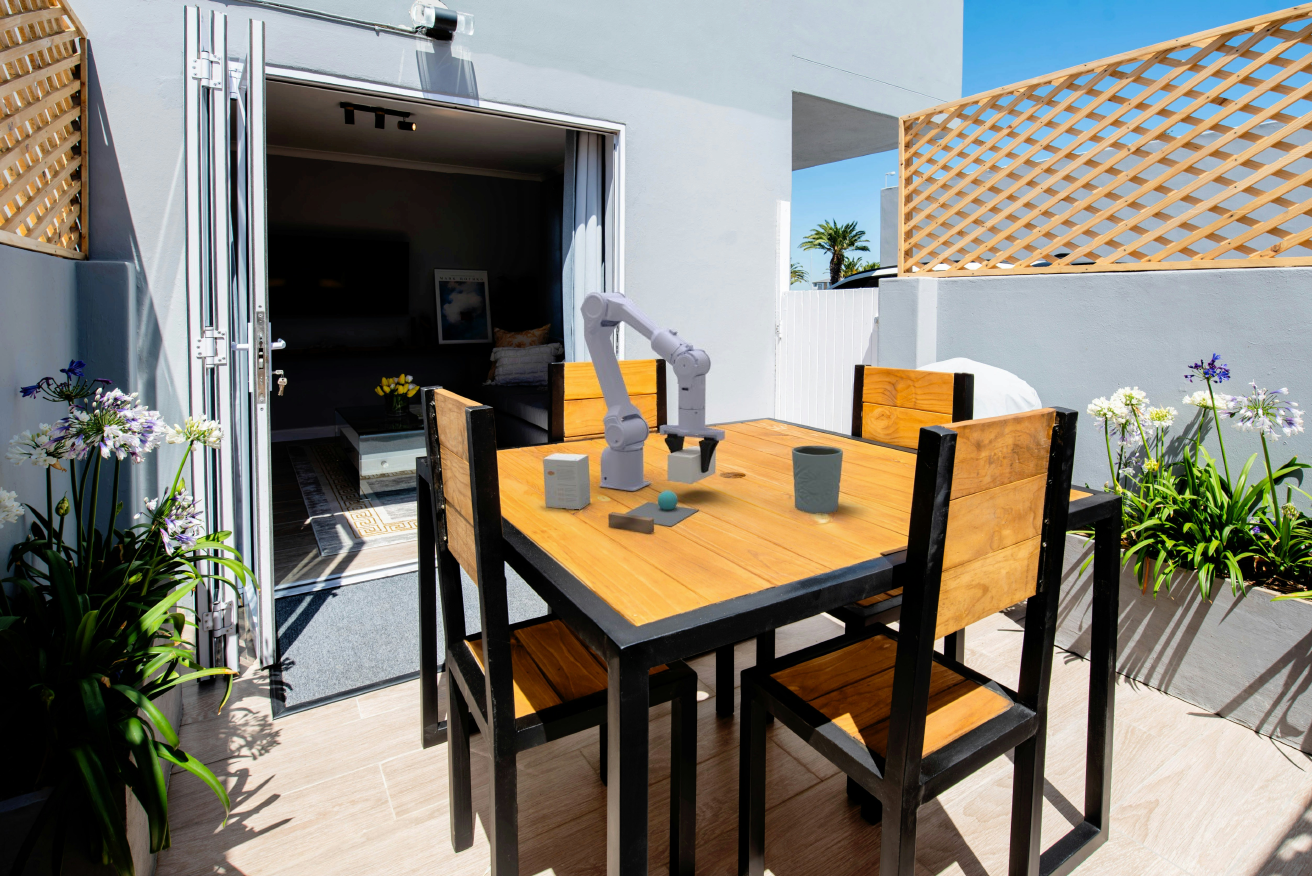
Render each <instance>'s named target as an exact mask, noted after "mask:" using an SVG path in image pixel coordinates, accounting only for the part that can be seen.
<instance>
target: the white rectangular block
mask: <svg viewBox="0 0 1312 876" xmlns="http://www.w3.org/2000/svg"><path fill="white" fill-rule="evenodd" d="M716 452H717V447H716V448H715V450H714V453H713V455H712V458H711V461H710V465H709V470H708V472H706V473H702V472H701V452H700V446H698V445H692V446H688V447H685V448H683V450H680V451H677V452H674V453H668V454H667V469H666V470H667V471H666V472H667V474H666V475H667V480H666V481H667V482H673V483H682V484H689V485H693V484H695V483H697V482H699V481H701V480H703V479H706V478H708V477H711V476H713V475H716V465H717V463H716V460H717V459H716V455H717V453H716Z"/></svg>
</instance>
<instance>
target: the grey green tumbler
mask: <svg viewBox="0 0 1312 876" xmlns="http://www.w3.org/2000/svg"><path fill="white" fill-rule="evenodd" d="M843 457H844V451H843V449H842V448H838V447H835V446H828V445H827V446H826V445H801V446H796V447H793V448H792V450H791V458H792V460H791V461H792V473H793V475H792V476H793V490H794V491H793V493H794V508H795V509H796V508H797V509H796V510H798V511H800V510H801V511H800V512H803V511H804V513H809V514H816V513H823V514H830V513H834V512H836V511H837V510H838V508H839V498H840V496H839V495H840V488H841V485H840V484H841V479H842V467H843V466H842V465H843Z"/></svg>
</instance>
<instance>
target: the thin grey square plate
mask: <svg viewBox="0 0 1312 876" xmlns="http://www.w3.org/2000/svg"><path fill="white" fill-rule="evenodd" d="M699 511H700V509H697V508H692V507H691V508H690V507H685V506H677V505H676V507H675V508H674V509H672V510H663V509H662V508H661V507H660V506H659V504H658V502H657V503H656V502H650V501H647V502H645V503H643V504H641V505H638V506H637V507H635V508H633V509H631V510H629V511H626V512H624V514H629V515H635V516H642V517H648V518H654V525H657V526H661V527H662V526H663V527H669V528H671V527H673V526H676V525H677V524H678V523H681V522H682V521H684V520H686V519H687V518H689V517H690V516H692V515H694V514H695V513H698V512H699Z"/></svg>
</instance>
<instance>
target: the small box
mask: <svg viewBox="0 0 1312 876" xmlns="http://www.w3.org/2000/svg"><path fill="white" fill-rule="evenodd" d="M589 459H590V458H589V454H578V453H577V454H576V453H561V452H560V453H558V452H555V453H552V454H550V455H547V456H546V457H543V459H542V463H543V467H542V468H543V483H544V498H545V499H544V503H545V508H550V507H555V508H554V509H562V508H566V509H565V510H574V509H579V510H578V511H580V510H582V509H584V508H585V507H586V506H588V505H589V504H591V502H592V501H591V480H590V477H591V476H590V462H589V461H590V460H589Z"/></svg>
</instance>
